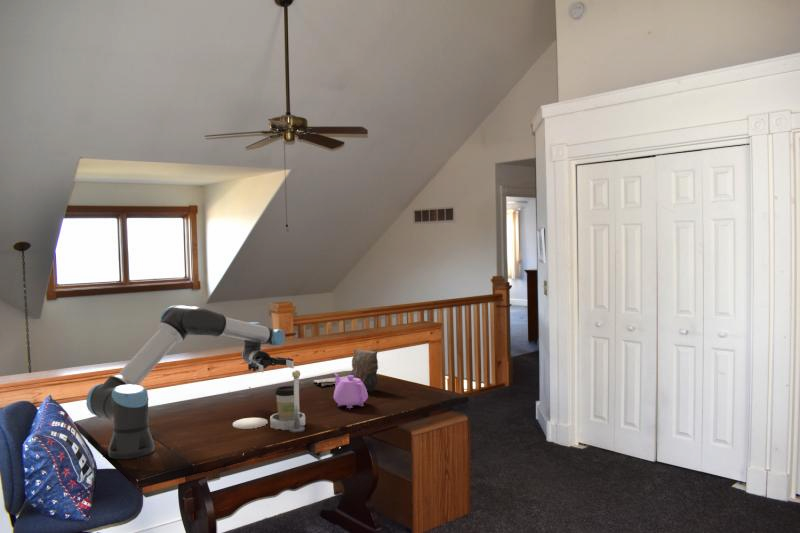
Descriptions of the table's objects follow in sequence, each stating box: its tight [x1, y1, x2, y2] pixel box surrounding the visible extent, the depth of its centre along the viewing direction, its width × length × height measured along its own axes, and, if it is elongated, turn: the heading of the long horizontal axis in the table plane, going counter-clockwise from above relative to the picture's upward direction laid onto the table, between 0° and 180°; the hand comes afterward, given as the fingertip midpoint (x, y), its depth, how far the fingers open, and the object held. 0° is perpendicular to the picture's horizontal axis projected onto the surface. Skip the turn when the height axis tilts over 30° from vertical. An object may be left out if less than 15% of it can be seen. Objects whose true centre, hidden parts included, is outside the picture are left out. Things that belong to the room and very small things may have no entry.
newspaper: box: [312, 375, 348, 387], centre depth 331 cm, size 35×12×4 cm, turn 125°
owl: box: [350, 349, 379, 392], centre depth 311 cm, size 13×13×20 cm
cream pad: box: [232, 417, 269, 430], centre depth 254 cm, size 14×14×1 cm
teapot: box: [333, 372, 369, 410], centre depth 282 cm, size 22×16×14 cm
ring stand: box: [269, 369, 306, 434], centre depth 249 cm, size 19×14×24 cm
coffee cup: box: [274, 385, 294, 421], centre depth 252 cm, size 10×10×15 cm
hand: (277, 367), depth 260 cm, fingers open, 13 cm apart
